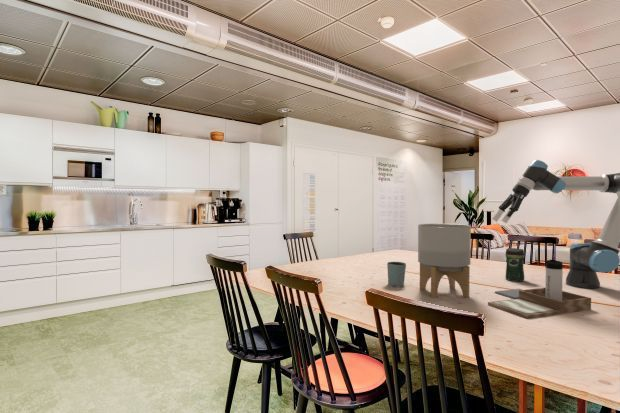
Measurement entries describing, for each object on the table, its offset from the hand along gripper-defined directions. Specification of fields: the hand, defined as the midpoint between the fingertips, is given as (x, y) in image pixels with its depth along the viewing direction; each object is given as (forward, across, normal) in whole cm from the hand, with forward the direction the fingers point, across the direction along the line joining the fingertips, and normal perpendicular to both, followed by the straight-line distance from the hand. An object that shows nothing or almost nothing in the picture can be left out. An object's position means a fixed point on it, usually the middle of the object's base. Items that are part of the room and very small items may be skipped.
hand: (498, 221), depth 194 cm
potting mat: (+27, +12, +24) cm, 38 cm away
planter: (+47, +13, -5) cm, 49 cm away
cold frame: (+27, +33, +25) cm, 49 cm away
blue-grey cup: (+59, -2, -24) cm, 64 cm away
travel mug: (+22, +28, +32) cm, 48 cm away
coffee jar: (+21, -23, +34) cm, 46 cm away
